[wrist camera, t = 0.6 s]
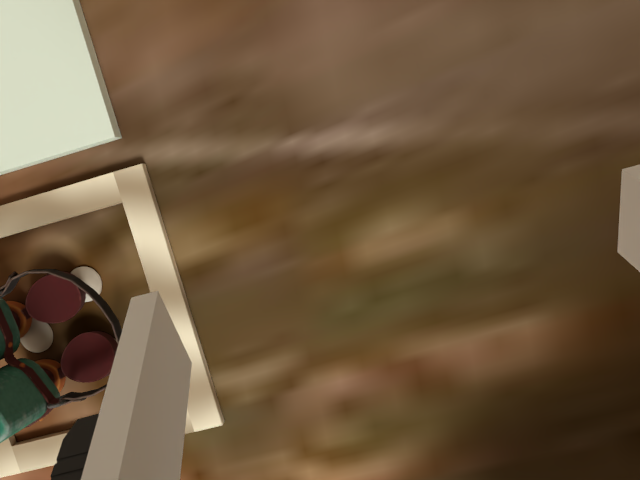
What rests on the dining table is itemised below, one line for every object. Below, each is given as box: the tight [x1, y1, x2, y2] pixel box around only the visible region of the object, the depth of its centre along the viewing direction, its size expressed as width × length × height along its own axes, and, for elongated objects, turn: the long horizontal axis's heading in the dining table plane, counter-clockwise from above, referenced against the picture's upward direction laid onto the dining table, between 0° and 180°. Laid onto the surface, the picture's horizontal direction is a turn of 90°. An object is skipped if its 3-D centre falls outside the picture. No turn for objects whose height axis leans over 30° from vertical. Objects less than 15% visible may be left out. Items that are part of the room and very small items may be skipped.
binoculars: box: [0, 269, 122, 443], centre depth 34 cm, size 9×11×10 cm
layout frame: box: [0, 164, 224, 478], centre depth 38 cm, size 18×17×1 cm
